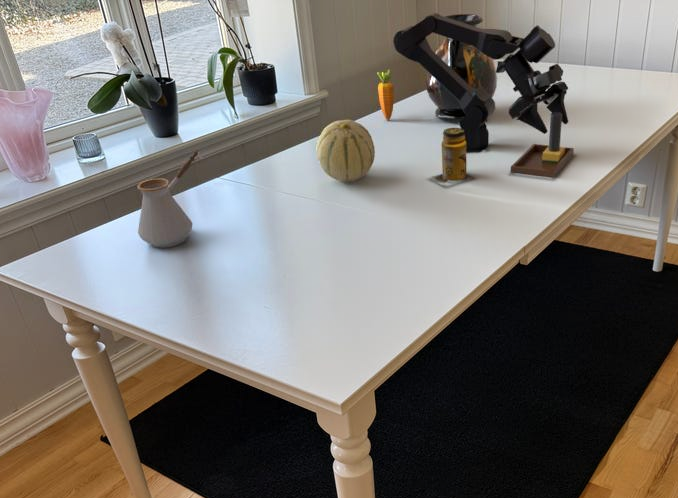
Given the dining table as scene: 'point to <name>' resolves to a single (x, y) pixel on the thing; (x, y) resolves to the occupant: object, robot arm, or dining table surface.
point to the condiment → (452, 156)
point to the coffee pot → (163, 212)
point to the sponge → (554, 140)
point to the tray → (539, 162)
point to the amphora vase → (461, 72)
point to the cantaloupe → (345, 150)
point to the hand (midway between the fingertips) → (556, 127)
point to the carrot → (386, 94)
